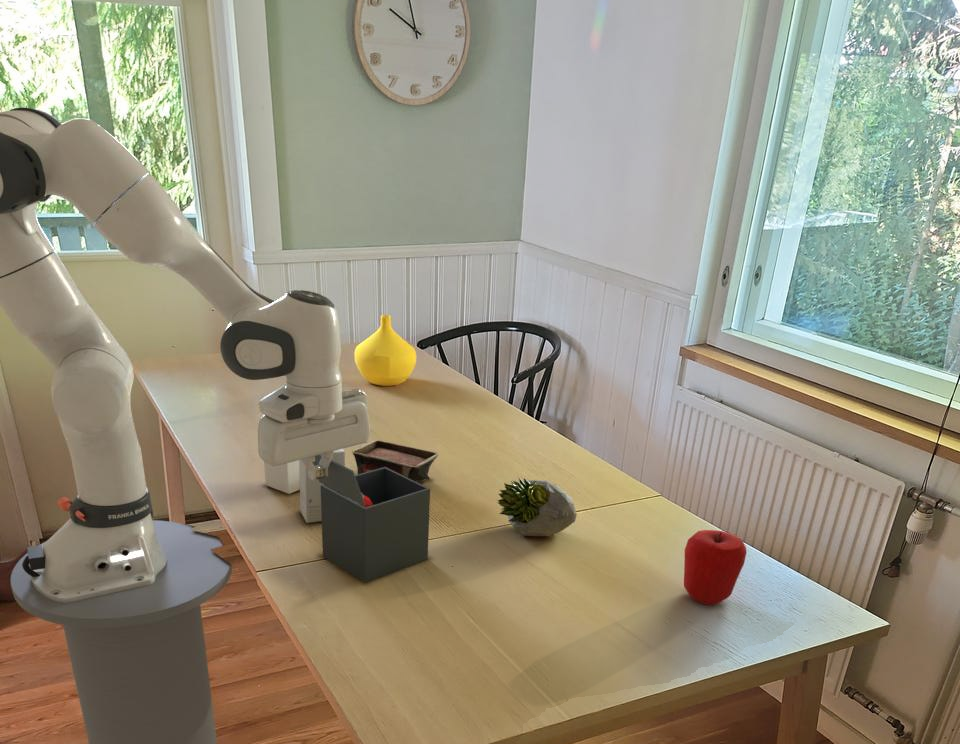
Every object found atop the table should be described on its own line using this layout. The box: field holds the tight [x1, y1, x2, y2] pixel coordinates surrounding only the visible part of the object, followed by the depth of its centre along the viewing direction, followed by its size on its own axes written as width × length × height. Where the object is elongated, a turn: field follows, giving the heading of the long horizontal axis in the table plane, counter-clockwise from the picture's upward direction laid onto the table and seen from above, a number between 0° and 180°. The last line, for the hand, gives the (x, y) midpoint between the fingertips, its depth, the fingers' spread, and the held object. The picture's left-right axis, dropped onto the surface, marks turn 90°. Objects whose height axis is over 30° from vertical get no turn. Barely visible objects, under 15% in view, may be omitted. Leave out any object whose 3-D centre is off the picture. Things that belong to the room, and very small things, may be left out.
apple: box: [683, 529, 748, 606], centre depth 156 cm, size 11×10×14 cm
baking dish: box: [351, 439, 439, 482], centre depth 194 cm, size 14×18×10 cm
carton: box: [320, 467, 431, 583], centre depth 161 cm, size 15×13×14 cm
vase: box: [354, 314, 417, 387], centre depth 257 cm, size 18×18×19 cm
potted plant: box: [497, 476, 577, 537], centre depth 176 cm, size 12×13×15 cm
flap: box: [312, 455, 365, 506], centre depth 150 cm, size 7×13×1 cm
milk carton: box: [263, 460, 300, 495], centre depth 186 cm, size 7×7×19 cm
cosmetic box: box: [299, 448, 346, 524], centre depth 175 cm, size 8×6×15 cm
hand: (318, 477), depth 147 cm, fingers closed
